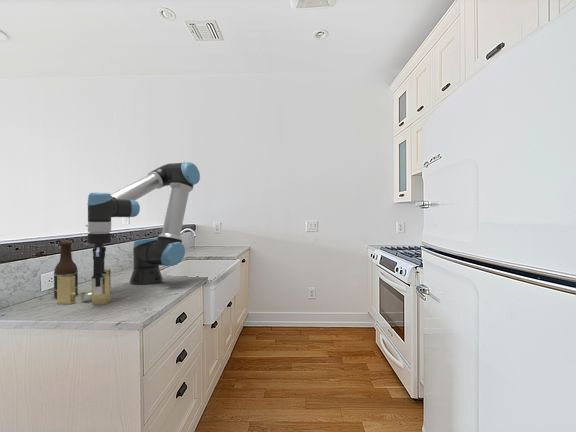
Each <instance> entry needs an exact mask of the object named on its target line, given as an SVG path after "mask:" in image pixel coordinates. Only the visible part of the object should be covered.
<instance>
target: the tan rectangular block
mask: <svg viewBox="0 0 576 432" xmlns="http://www.w3.org/2000/svg"><path fill="white" fill-rule="evenodd" d="M56 303H57V304H58V305H59V304H61V305H62V304H63V305H72V304H75V303H76V296H75V276H72V275H61V276H57V299H56Z"/></svg>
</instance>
